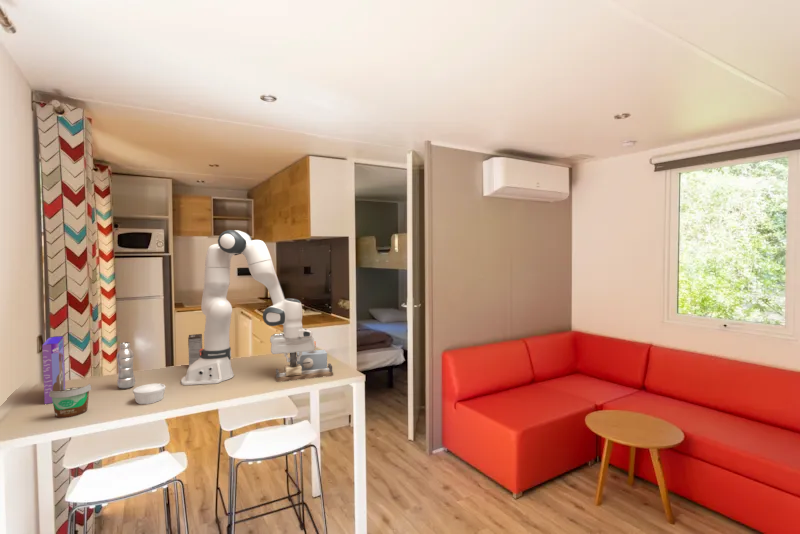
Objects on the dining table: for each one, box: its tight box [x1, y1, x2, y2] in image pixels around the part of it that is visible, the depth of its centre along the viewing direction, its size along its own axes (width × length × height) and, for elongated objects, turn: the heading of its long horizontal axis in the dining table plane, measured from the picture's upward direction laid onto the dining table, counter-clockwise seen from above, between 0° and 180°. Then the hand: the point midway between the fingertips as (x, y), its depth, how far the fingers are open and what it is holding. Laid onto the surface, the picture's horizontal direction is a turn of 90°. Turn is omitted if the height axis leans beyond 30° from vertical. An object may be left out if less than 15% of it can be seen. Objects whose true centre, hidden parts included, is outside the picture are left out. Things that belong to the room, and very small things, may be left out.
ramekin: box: [132, 383, 166, 405], centre depth 165 cm, size 11×11×5 cm
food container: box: [49, 383, 92, 419], centre depth 150 cm, size 12×6×10 cm, turn 126°
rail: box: [275, 363, 334, 383], centre depth 196 cm, size 26×7×4 cm, turn 111°
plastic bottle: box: [116, 341, 136, 389], centre depth 180 cm, size 6×7×20 cm
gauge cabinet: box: [296, 349, 328, 371], centre depth 206 cm, size 14×9×9 cm, turn 111°
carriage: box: [284, 352, 302, 376], centre depth 194 cm, size 7×6×11 cm
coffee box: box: [187, 333, 203, 367], centre depth 214 cm, size 9×6×16 cm
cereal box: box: [42, 335, 66, 405], centre depth 169 cm, size 17×5×24 cm, turn 34°
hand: (293, 361), depth 194 cm, fingers closed on carriage, 3 cm apart
